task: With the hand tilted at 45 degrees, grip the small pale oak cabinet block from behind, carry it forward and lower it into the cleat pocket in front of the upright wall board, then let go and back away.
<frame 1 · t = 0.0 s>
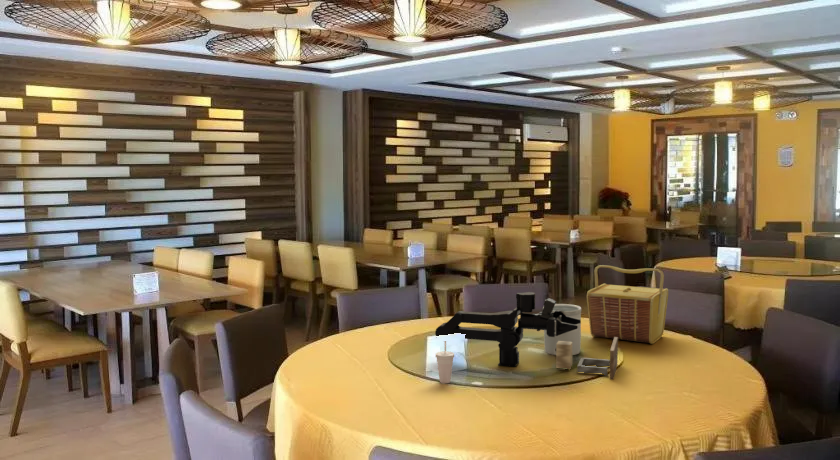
hand: (579, 324, 254), 17 cm above the table, tool horizontal, fingers open, 9 cm apart
utensil holder: (561, 351, 281), on the table
cabinet block: (564, 367, 259), on the table
picnic basket: (627, 337, 302), on the table
smoothie: (445, 382, 243), on the table
cleat board: (595, 369, 255), on the table
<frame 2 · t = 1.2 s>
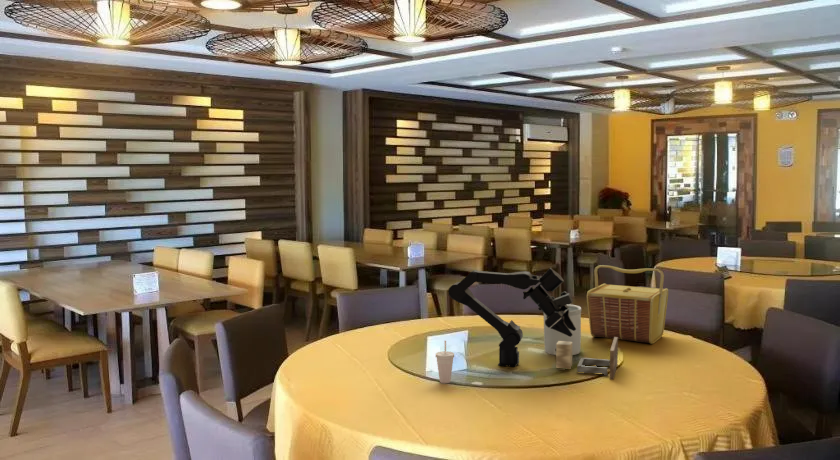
hand: (573, 332, 255), 13 cm above the table, tool tilted 45°, fingers open, 9 cm apart
nothing on the table moved.
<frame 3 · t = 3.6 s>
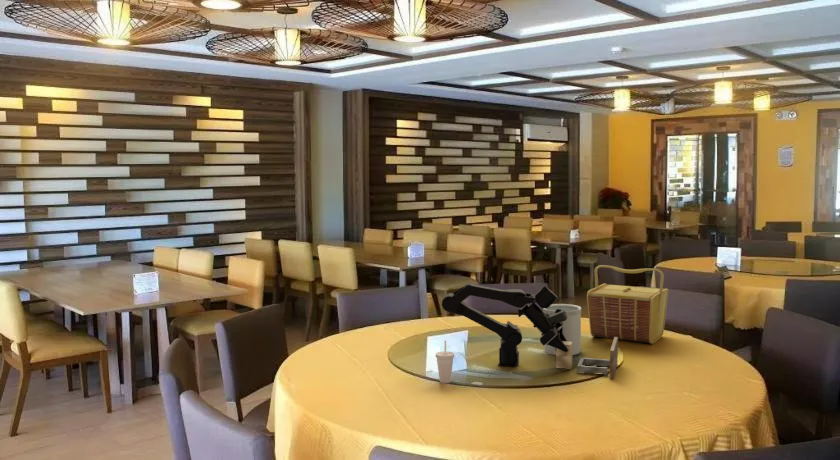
hand: (568, 349, 258), 7 cm above the table, tool tilted 45°, fingers closed on cabinet block, 5 cm apart
cabinet block: (564, 367, 259), on the table, touching gripper
everything else where it was.
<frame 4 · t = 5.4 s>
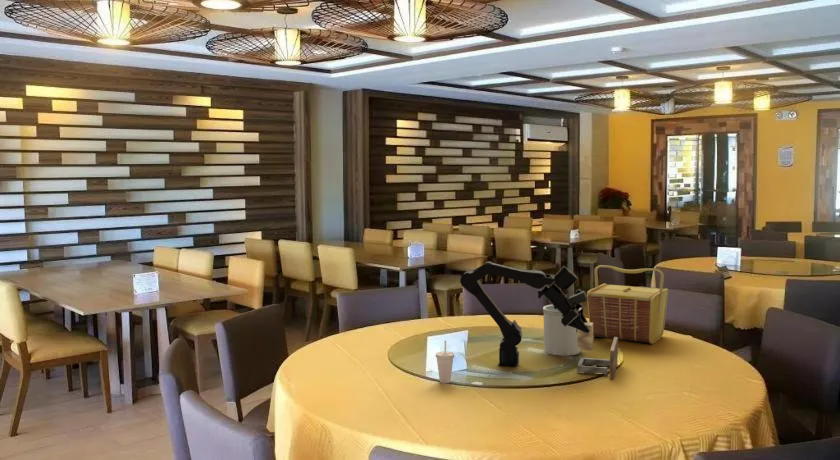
hand: (589, 330, 255), 14 cm above the table, tool tilted 45°, fingers closed on cabinet block, 5 cm apart
cabinet block: (585, 348, 256), point 7 cm above the table, touching gripper
everything else where it was.
when the fingers open (8 cm above the table, at t = 7.3 s): cabinet block drops 2 cm, resting in cleat board.
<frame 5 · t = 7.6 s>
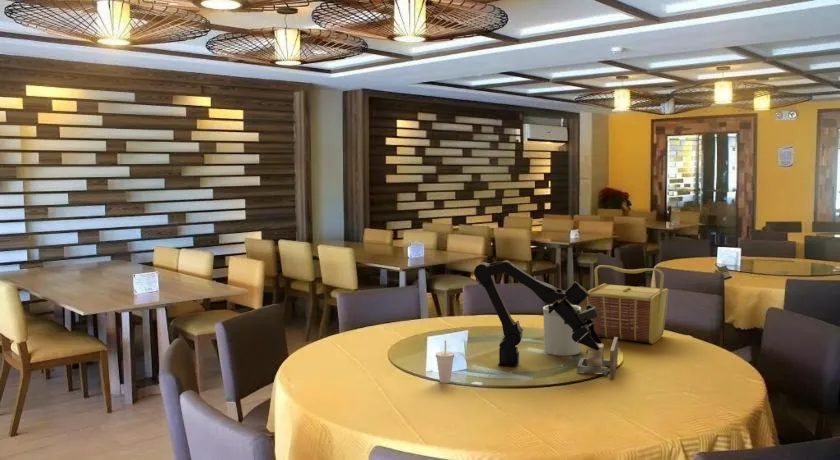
hand: (599, 346, 254), 9 cm above the table, tool tilted 45°, fingers open, 9 cm apart
cabinet block: (595, 370, 255), resting in cleat board
everything else where it was.
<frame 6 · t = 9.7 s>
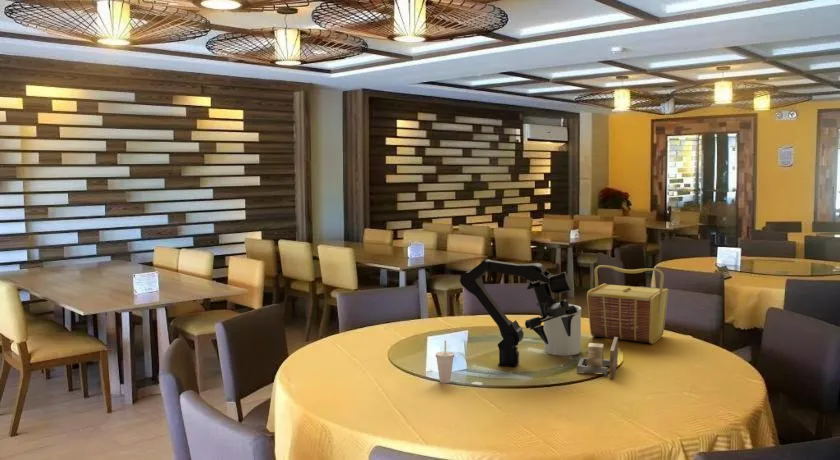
hand: (558, 340, 254), 11 cm above the table, tool tilted 20°, fingers open, 9 cm apart
nothing on the table moved.
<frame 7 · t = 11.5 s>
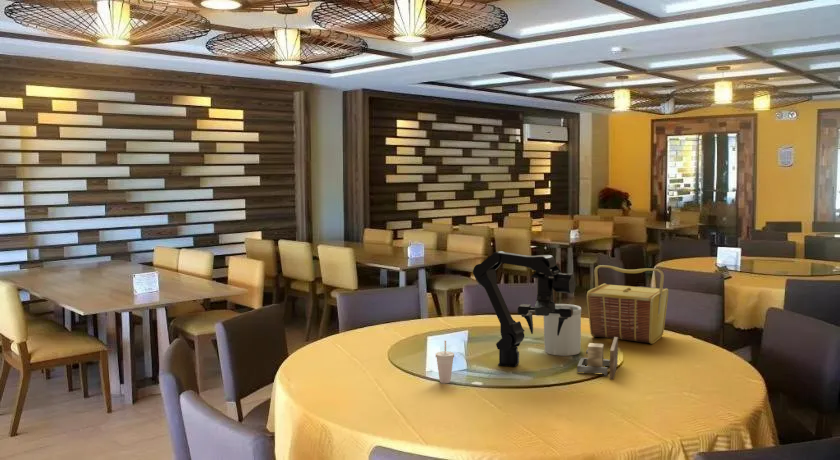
hand: (545, 334, 254), 13 cm above the table, tool pointing down, fingers open, 9 cm apart
nothing on the table moved.
at the end: cabinet block inside the target area on the cleat board (0.0 cm from its centre), point 0.0 cm above the cleat board's base; cabinet block tilted 0°; the gripper is holding nothing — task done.
